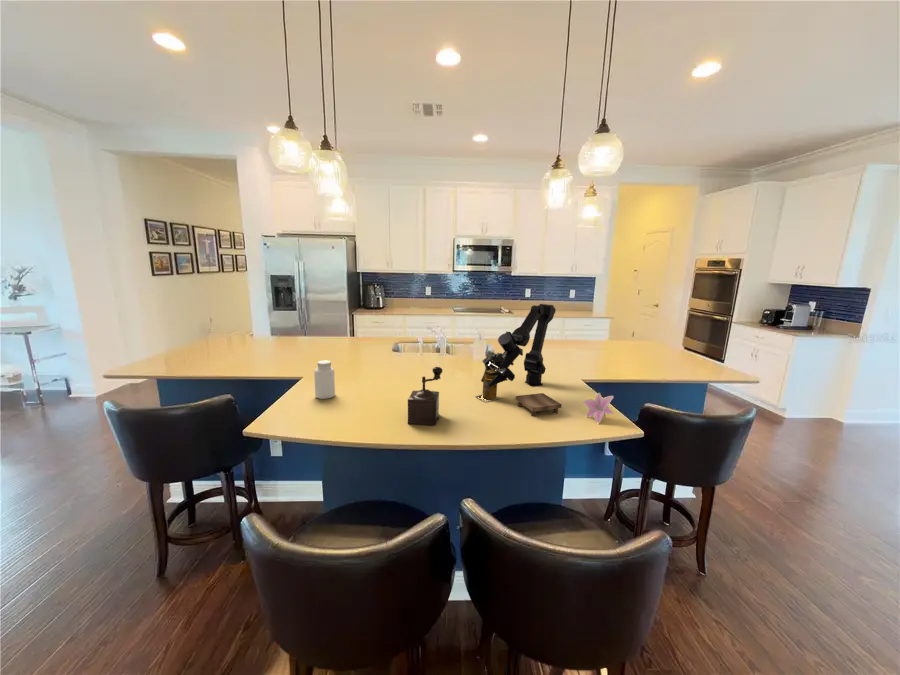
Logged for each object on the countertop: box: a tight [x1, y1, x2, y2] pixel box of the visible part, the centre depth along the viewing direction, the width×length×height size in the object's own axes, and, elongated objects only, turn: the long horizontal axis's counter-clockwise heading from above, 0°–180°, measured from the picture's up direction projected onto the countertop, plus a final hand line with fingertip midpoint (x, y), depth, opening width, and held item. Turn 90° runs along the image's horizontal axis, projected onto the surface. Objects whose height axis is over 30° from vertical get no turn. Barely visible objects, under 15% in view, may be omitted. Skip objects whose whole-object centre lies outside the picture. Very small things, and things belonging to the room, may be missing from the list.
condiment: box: [474, 370, 501, 403], centre depth 159 cm, size 7×8×12 cm
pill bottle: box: [313, 359, 336, 400], centre depth 156 cm, size 8×8×15 cm
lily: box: [583, 392, 614, 424], centre depth 141 cm, size 12×12×10 cm
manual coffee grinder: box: [407, 366, 443, 427], centre depth 138 cm, size 16×11×18 cm
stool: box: [514, 392, 563, 418], centre depth 149 cm, size 13×13×4 cm
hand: (485, 383), depth 158 cm, fingers closed on condiment, 6 cm apart
